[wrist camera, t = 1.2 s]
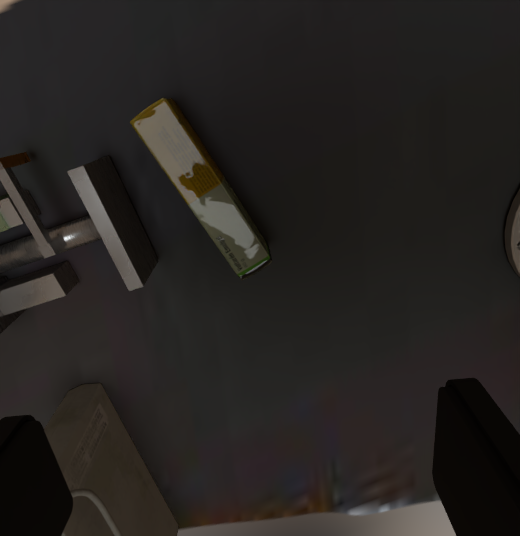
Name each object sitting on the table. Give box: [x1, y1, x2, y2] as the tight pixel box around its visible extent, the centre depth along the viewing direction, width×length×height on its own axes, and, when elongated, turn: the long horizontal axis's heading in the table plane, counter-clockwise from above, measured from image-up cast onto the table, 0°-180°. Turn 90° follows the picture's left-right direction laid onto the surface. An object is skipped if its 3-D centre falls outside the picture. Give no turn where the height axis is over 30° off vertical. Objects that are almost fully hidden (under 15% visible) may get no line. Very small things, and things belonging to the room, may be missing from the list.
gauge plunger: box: [0, 152, 158, 291], centre depth 26 cm, size 11×10×4 cm
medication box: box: [130, 98, 272, 280], centre depth 26 cm, size 12×3×4 cm, turn 32°
